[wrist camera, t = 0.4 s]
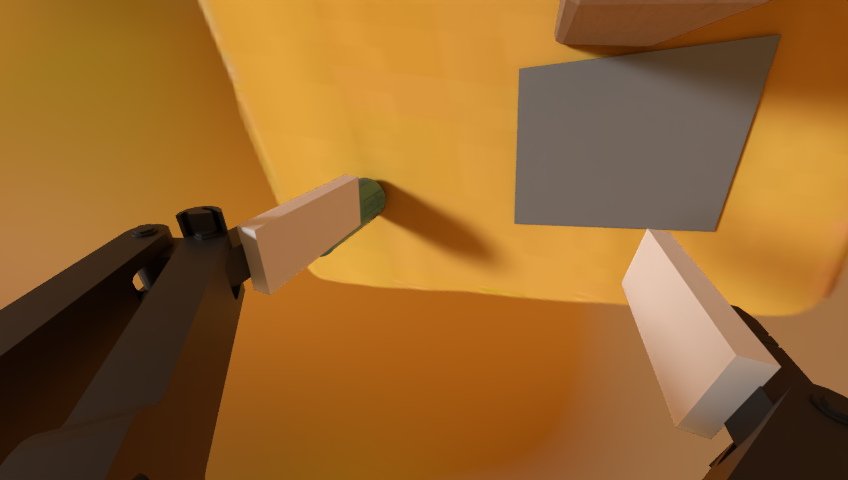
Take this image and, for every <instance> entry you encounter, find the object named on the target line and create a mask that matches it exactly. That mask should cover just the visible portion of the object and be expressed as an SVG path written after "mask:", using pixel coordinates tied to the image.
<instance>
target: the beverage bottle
mask: <svg viewBox="0 0 848 480" xmlns="http://www.w3.org/2000/svg"><path fill="white" fill-rule="evenodd" d="M358 182H359V202H360V222H361V225H360V226H358V227H357V228H356V229H355V230H353V231H352V232H351V233H349V234H348V235H347V236H346V237H344V238H343V239H342V240H340V241H339V242H338V243H337V244H335V245H334V246H333V247H331V248H330V249H329V250H328V251H326V252H325V253H324V254H322V255H321V256H320V257H323V256H326V255H328V254H330V253H331V252H332V251H333V250H334V249H335V248H336V247H337V246H339V245H340V244H341V243H343V242H344V241H345V240H346V239H348V238H349V237H350V236H352V235H353V234H354V233H356V232H357V231H359V229H361V228H364V227H363V226H366V225H367V223H368V222H369V221H370V222H371V220H372V219H375V217H377V215H379V214H380V213H381V212H383V211H382V210H383V209H384V206H385V202H386V198H385V193H384V191H383V189H382V187H381V186H380V185H379V184H378V183H377V182H375V181H374V180H372V179H368V178H361V179H358ZM370 222H369V223H370ZM369 223H368V224H369ZM349 239H350V238H349Z"/></svg>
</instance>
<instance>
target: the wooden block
mask: <svg viewBox="0 0 848 480" xmlns="http://www.w3.org/2000/svg"><path fill="white" fill-rule="evenodd" d="M769 1H772V0H561V1H560V6H559V12H558V17H557V22H556V28H555V39H556V41H557V42H559V43H561V44H566V45H611V46H652V45H655V44H658V43H661V42H664V41H666V40H669V39H671V38H674V37H677V36H679V35H682V34H685V33H687V32H690V31H693V30H695V29H698V28H700V27H703V26H706V25H708V24H711V23H714V22H716V21H719V20H722V19H724V18H727V17H729V16H732V15H735V14H737V13H740V12H743V11H745V10H748V9H751V8H753V7H756V6H758V5H761V4H764V3H766V2H769Z"/></svg>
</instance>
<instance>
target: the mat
mask: <svg viewBox="0 0 848 480" xmlns="http://www.w3.org/2000/svg"><path fill="white" fill-rule="evenodd" d="M780 37H781V34H779V35H772V36H764V37H757V38H749V39H742V40H734V41H727V42H719V43H712V44H704V45H696V46H689V47H681V48H674V49H666V50H659V51H651V52H644V53H636V54H629V55H621V56H614V57H606V58H598V59H591V60H583V61H576V62H568V63H561V64H553V65H546V66H538V67H531V68H523V69H519V98H518V129H517V161H516V192H515V224H535V225H560V226H585V227H611V228H636V229H661V230H686V231H712V232H714V230H715V227H716V224H717V222H718V219H719V216H720V213H721V210H722V207H723V204H724V201H725V198H726V195H727V192H728V189H729V186H730V184H731V181H732V178H733V175H734V172H735V169H736V166H737V163H738V160H739V157H740V154H741V151H742V148H743V146H744V143H745V140H746V137H747V134H748V131H749V128H750V125H751V122H752V119H753V116H754V113H755V110H756V108H757V105H758V102H759V99H760V96H761V93H762V90H763V87H764V84H765V81H766V78H767V75H768V72H769V70H770V67H771V64H772V61H773V58H774V55H775V52H776V49H777V46H778V43H779V40H780Z"/></svg>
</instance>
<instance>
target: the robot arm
mask: <svg viewBox="0 0 848 480" xmlns="http://www.w3.org/2000/svg"><path fill="white" fill-rule="evenodd" d="M176 218H177V221H178V223H179V226H180V229H181V231H182V234H183V237H184V238H173V237H172V235H171V232H170V230H169V227H168V226H166V225H162V224H152V225H151V224H146V225H140V226H138V227H136V228H133V229H130V230H128V231H126V232H124V233H123V234H121V235H120V236H118V237H116V238H115V239H113V240H111V241H110V242H108V243H107V244H105V245H104V246H102V247H100V248H99V249H97V250H95V251H94V252H92V253H91V254H89V255H88V256H86V257H84V258H83V259H81V260H80V261H78V262H77V263H75V264H73V265H72V266H70V267H68V268H67V269H65V270H64V271H62V272H60V273H59V274H57V275H56V276H54V277H52V278H51V279H49V280H48V281H46V282H45V283H43V284H41V285H40V286H38V287H36V288H35V289H33V290H32V291H30V292H28V293H27V294H26V295H24V296H22V297H20V298H19V299H17V300H16V301H14V302H12V303H11V304H9V305H8V306H6V307H5V308H3V309H1V310H0V480H205V472H206V466H207V462H208V458H209V453H210V449H211V444H212V439H213V435H214V430H215V426H216V421H217V416H218V412H219V407H220V403H221V398H222V393H223V389H224V384H225V380H226V375H227V371H228V366H229V362H230V357H231V352H232V347H233V343H234V339H235V334H236V329H237V325H238V319H239V316H240V311H241V307H242V301H243V297H244V293H245V288H244V284H243V282H244V281H246V280H247V279H248V278H250V277H251V280H252V283H253V287H254V290H256V291H259V292H263V293H265V294H269V295H271V294H272V293H274V292H275V291H276V290H277V289H279V288H280V287H281V286H283V285H284V284H285V283H286V282H288V281H289V280H290V279H292V278H293V277H294V276H295V275H297V274H298V273H299V272H301V271H302V270H303V269H304V268H306V267H307V266H308V265H310V264H311V263H312V262H313V261H315V260H316V259H317V258H319V257H320V256H321V255H322V254H324V253H325V252H326V251H328V250H329V249H330V248H331V247H333V246H334V245H335V244H337V243H338V242H339V241H340V240H342V239H343V238H344V237H346V236H347V235H348V234H349V233H351V232H352V231H353V230H355V229H356V228H357V227H358V226H360V225H361V222H360V202H359V182H358V177H356V176H350V175H344V176H341V177H339V178H337V179H335V180H333V181H331V182H329V183H327V184H324V185H322V186H320V187H318V188H316V189H314V190H312V191H309V192H307V193H305V194H303V195H301V196H299V197H297V198H295V199H292V200H290V201H288V202H286V203H284V204H282V205H280V206H277V207H275V208H273V209H271V210H269V211H267V212H265V213H263V214H261V215H258V216H256V217H254V218H252V219H250V220H248V221H245V222H243V223H241V224H239V225H237V226H236V227H235V228H232V229H230V230H227V226H226V223H225V220H224V217H223V213H222V210H221V209H220V208H219V207H214V206H201V207H194V208H190V209H186V210H184V211H182V212H179V213H178V214H177V215H176ZM136 273H138V275H139V277H140V279H141V281H142V283H143V285H144V286H143V287H142V288H141V289H140V290H137V289H136V288H135V286H134V284H133V282H132V281H133V277H134V275H135V274H136ZM621 284H622V287H623V289H624V292H625V295H626V297H627V300H628V303H629V305H630V308H631V310H632V313H633V316H634V318H635V321H636V324H637V326H638V329H639V332H640V334H641V337H642V340H643V342H644V345H645V347H646V350H647V353H648V355H649V358H650V361H651V363H652V366H653V369H654V371H655V374H656V377H657V379H658V382H659V384H660V387H661V390H662V392H663V395H664V397H665V400H666V403H667V406H668V408H669V411H670V413H671V416H672V419H673V422H674V424H675V427H676V428H678V429H681V430H684V431H687V432H690V433H693V434H696V435H700V436H703V437H706V438H709V439H712V438H713V437H714V436H715V435H716V434H717V433H718V432H719V430H721V429H722V428H723V427H724V426H726V428H727V430H728V432H729V434H730V436H731V438H732V440H733V443H732V444H730V445H729V446H728V447H727V448H726V449H725V450H724V451H723V452H722V453H721V454H720V455H719V456H718V457H717V458H716V459H715V460H714V461H713V462H712V463H711V464H710V465H709V466H710V467H711V469H710V470H709V472H708V473H707V474H706V476H705V477H704V478H703V479H702V480H848V398H846V397H845V396H843V395H840V394H838V393H836V392H834V391H832V390H830V389H828V388H825V387H821V386H819V385H815V384H813V383H812V382H811V381H810V380H809V379H808V377H807V376H806V375H805V374H804V373H803V372H802V371H801V370H800V368H799V367H798V366H797V365H796V364H795V363H794V362H793V360H792V359H791V358H790V357H789V356H788V355H787V354H786V353H785V351H784V350H783V349H782V348H779V347H778V346H779V345H778V343H777V342H776V341H775V340H774V339H773V338H772V337H771V336H768V334H769V333H768V332H767V331H766V330H765V329H764V328H763V327H762V326H761V324H760V323H759V322H758V321H757V320H756V319H754V318H753V317H752V316H750V315H749V314H748V313H746V312H745V311H743V310H742V309H741V308H739V307H737V306H732V305H730V304H729V303H728V302H727V301H726V300H725V298H724V297H723V296H722V295H721V294H720V292H719V291H718V290H717V289H716V287H715V286H714V285H713V284H712V283H711V281H710V280H709V279H708V278H707V277H706V275H705V274H704V273H703V272H702V271H701V269H700V268H699V267H698V266H697V264H696V263H695V262H694V261H693V260H692V258H691V257H690V256H689V255H688V254H687V252H686V251H685V250H684V249H683V248H682V246H681V245H680V244H679V243H678V242H677V240H676V239H675V238H674V237H673V235H672V234H671V233H670V232H665V231H660V230H654V229H647V231H646V233H645V235H644V237H643V239H642V241H641V243H640V245H639V248H638V250H637V252H636V254H635V256H634V258H633V260H632V262H631V264H630V266H629V269H628V271H627V273H626V275H625V277H624V279H623V281H622V283H621Z"/></svg>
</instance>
